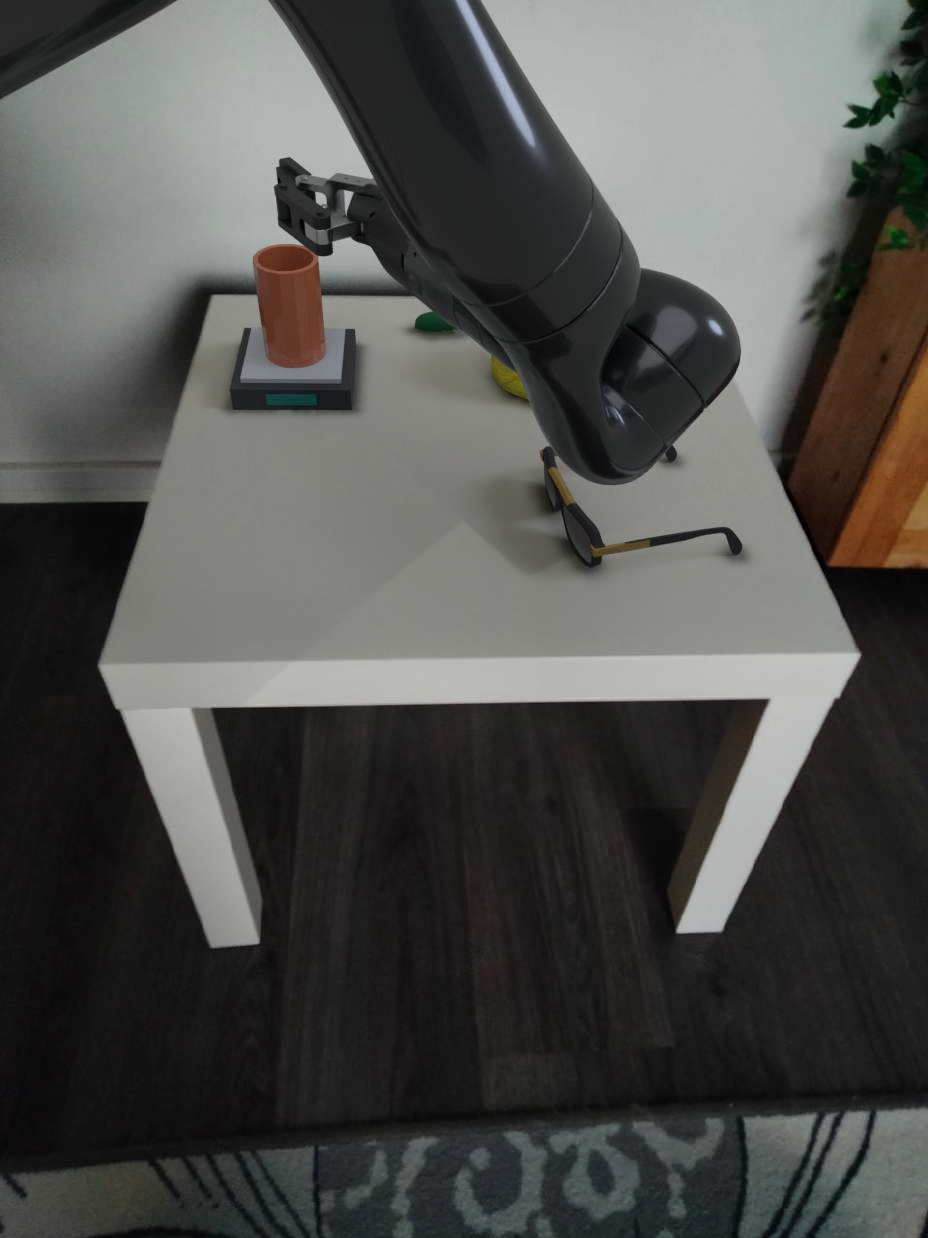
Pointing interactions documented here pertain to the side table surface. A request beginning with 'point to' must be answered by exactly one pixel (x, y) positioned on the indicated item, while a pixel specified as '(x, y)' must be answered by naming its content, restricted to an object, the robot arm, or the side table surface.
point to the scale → (295, 376)
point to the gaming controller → (432, 323)
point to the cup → (290, 305)
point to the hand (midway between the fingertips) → (339, 161)
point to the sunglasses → (587, 534)
